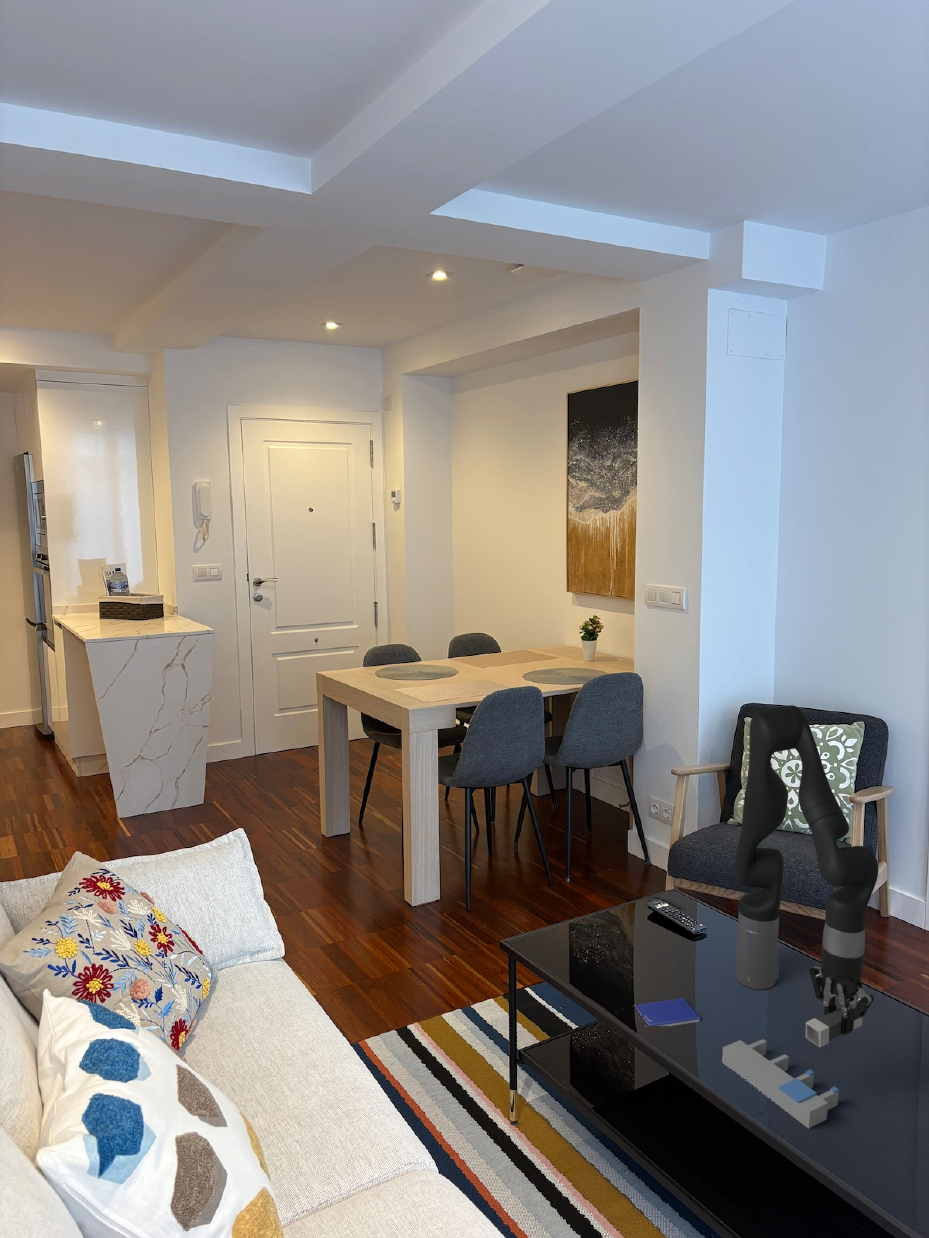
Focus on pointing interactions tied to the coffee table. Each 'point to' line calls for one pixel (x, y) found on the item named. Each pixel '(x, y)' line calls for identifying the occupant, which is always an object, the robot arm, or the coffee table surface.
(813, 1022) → the dark grey capped bar
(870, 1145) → the coffee table surface
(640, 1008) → the hard drive
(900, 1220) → the coffee table surface
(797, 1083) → the pronged holder rack
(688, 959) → the coffee table surface
